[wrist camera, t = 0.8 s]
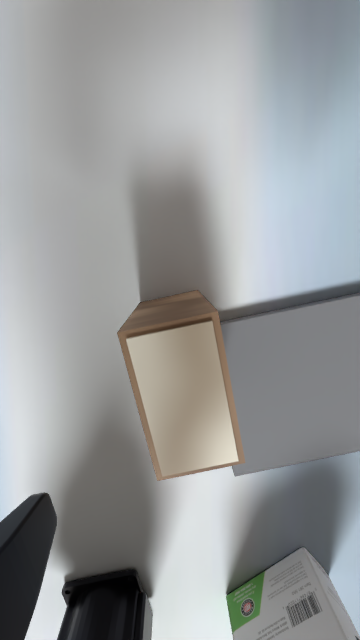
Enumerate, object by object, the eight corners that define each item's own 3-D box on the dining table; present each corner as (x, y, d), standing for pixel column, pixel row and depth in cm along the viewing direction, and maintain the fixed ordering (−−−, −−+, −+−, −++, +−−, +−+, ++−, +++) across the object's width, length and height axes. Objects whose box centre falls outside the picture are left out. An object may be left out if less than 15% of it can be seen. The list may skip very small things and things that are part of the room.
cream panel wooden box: (162, 394, 20) (157, 483, 12) (140, 302, 18) (116, 333, 10) (215, 382, 20) (246, 465, 12) (197, 290, 18) (218, 311, 10)
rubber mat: (232, 468, 21) (234, 476, 20) (204, 325, 19) (206, 327, 18) (406, 433, 21) (415, 439, 20) (402, 283, 18) (412, 284, 18)
